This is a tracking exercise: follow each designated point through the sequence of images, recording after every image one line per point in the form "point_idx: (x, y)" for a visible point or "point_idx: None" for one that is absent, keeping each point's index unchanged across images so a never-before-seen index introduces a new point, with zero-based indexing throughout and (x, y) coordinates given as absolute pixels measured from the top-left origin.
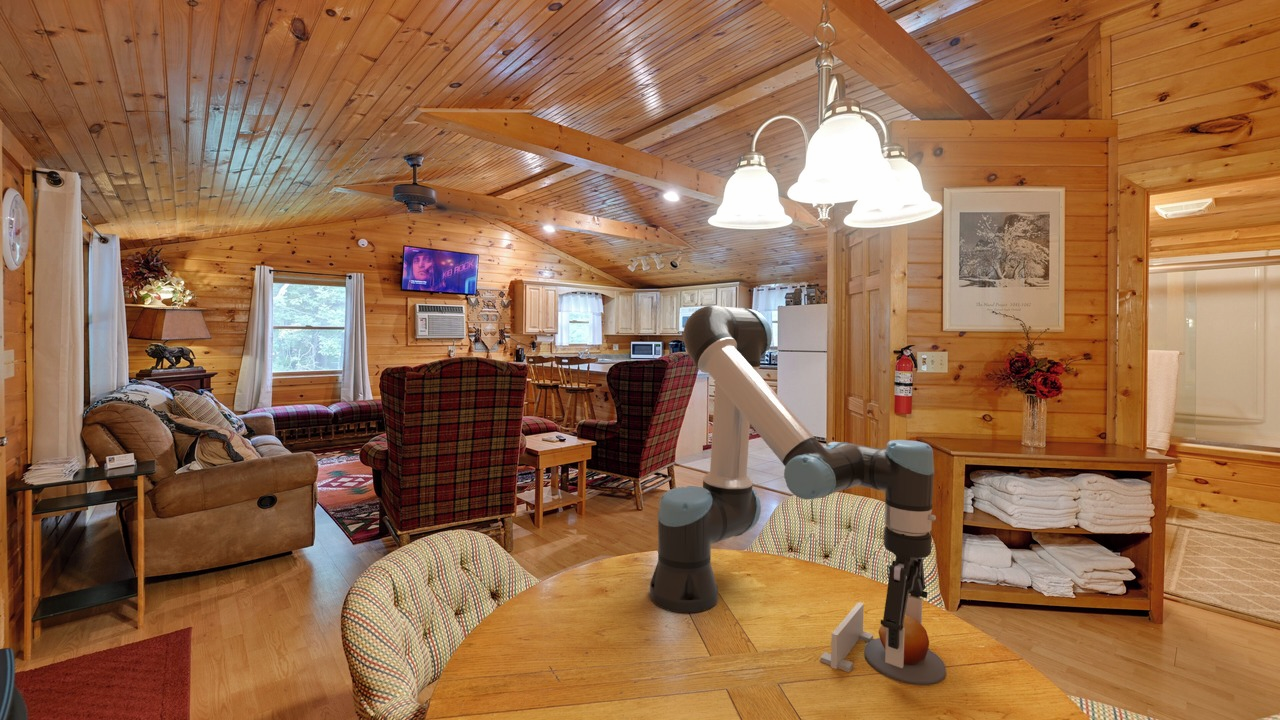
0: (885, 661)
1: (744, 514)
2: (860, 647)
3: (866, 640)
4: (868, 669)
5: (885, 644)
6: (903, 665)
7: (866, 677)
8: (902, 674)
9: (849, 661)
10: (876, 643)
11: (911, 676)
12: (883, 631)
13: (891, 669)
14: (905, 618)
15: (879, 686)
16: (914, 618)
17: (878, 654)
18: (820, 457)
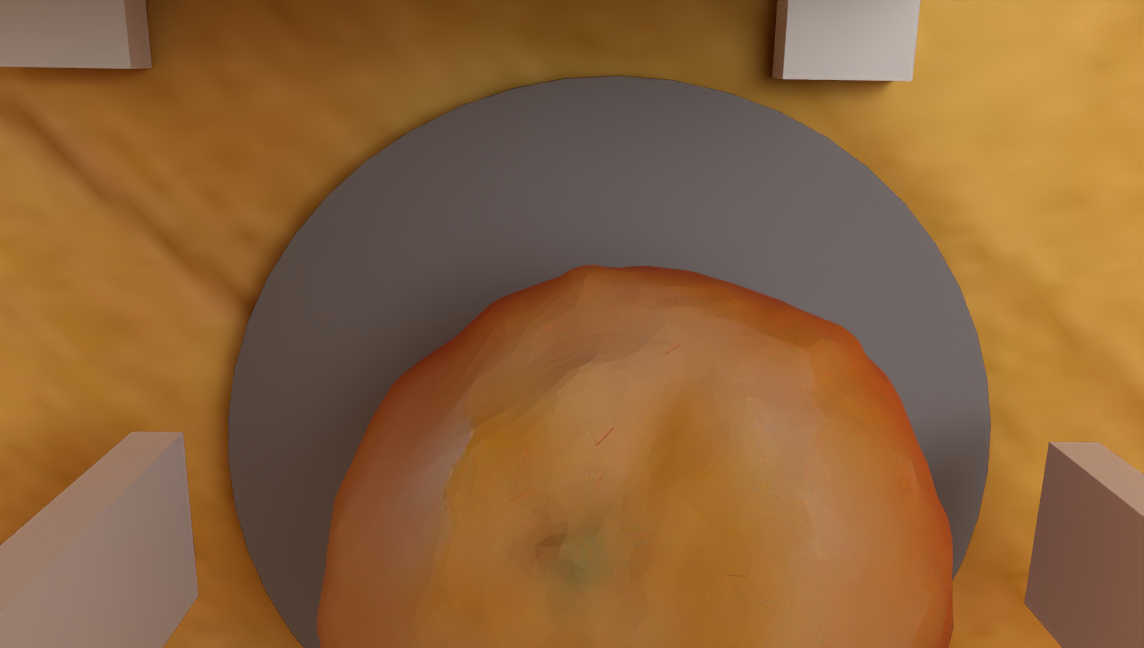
0: (128, 438)
1: None
2: (609, 16)
3: (780, 37)
4: (236, 209)
5: (395, 390)
6: (192, 600)
7: (84, 232)
8: (290, 519)
9: (121, 28)
10: (721, 170)
11: (318, 586)
12: (480, 377)
13: (304, 421)
14: None
15: (35, 366)
16: (1129, 639)
17: (496, 249)
18: None
